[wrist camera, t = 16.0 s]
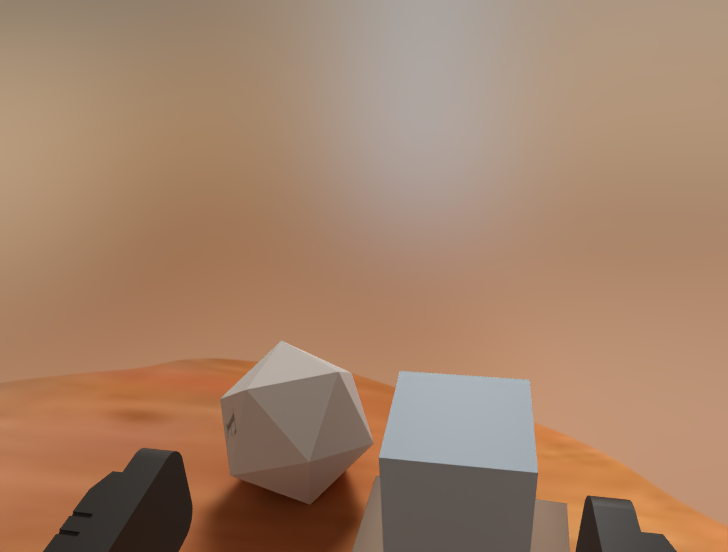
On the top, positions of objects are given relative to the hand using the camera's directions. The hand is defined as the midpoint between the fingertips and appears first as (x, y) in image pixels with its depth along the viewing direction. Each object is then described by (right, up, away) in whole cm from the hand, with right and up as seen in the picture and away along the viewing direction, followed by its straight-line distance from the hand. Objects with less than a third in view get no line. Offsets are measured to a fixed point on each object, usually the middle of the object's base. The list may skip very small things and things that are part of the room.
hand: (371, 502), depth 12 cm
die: (-4, -8, +26) cm, 27 cm away
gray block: (+4, -9, +16) cm, 18 cm away
